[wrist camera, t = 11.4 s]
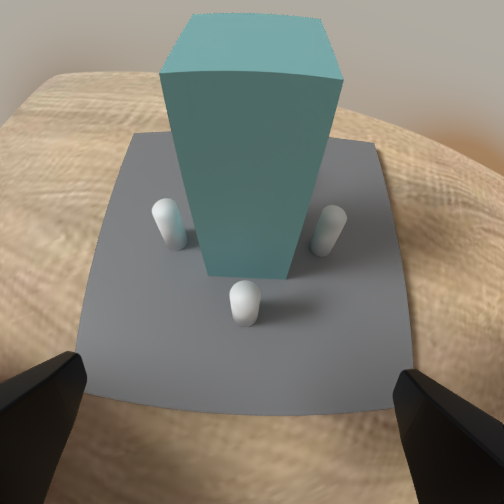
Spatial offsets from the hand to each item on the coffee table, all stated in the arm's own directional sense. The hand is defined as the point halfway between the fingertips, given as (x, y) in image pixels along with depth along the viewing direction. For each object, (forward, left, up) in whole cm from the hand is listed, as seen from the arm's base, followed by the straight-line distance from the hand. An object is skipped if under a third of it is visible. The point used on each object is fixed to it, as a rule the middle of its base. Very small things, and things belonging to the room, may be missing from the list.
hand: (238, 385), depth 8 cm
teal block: (+9, +1, -9) cm, 12 cm away
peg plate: (+9, +1, -9) cm, 13 cm away
